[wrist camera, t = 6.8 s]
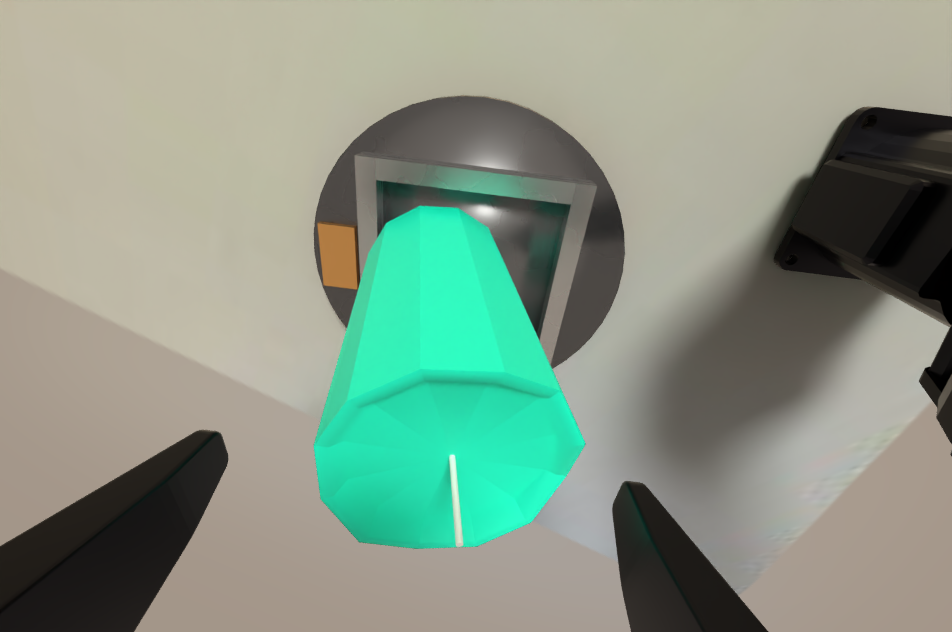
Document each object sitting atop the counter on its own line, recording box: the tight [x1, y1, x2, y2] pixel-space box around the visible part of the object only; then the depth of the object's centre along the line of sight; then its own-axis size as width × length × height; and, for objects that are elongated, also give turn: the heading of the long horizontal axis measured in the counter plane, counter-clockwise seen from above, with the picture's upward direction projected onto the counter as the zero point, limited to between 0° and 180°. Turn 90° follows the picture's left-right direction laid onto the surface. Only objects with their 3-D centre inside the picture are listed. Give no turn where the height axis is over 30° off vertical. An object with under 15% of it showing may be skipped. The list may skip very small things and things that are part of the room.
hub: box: [314, 95, 625, 369], centre depth 18 cm, size 14×14×2 cm
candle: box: [314, 206, 586, 549], centre depth 12 cm, size 6×6×12 cm
